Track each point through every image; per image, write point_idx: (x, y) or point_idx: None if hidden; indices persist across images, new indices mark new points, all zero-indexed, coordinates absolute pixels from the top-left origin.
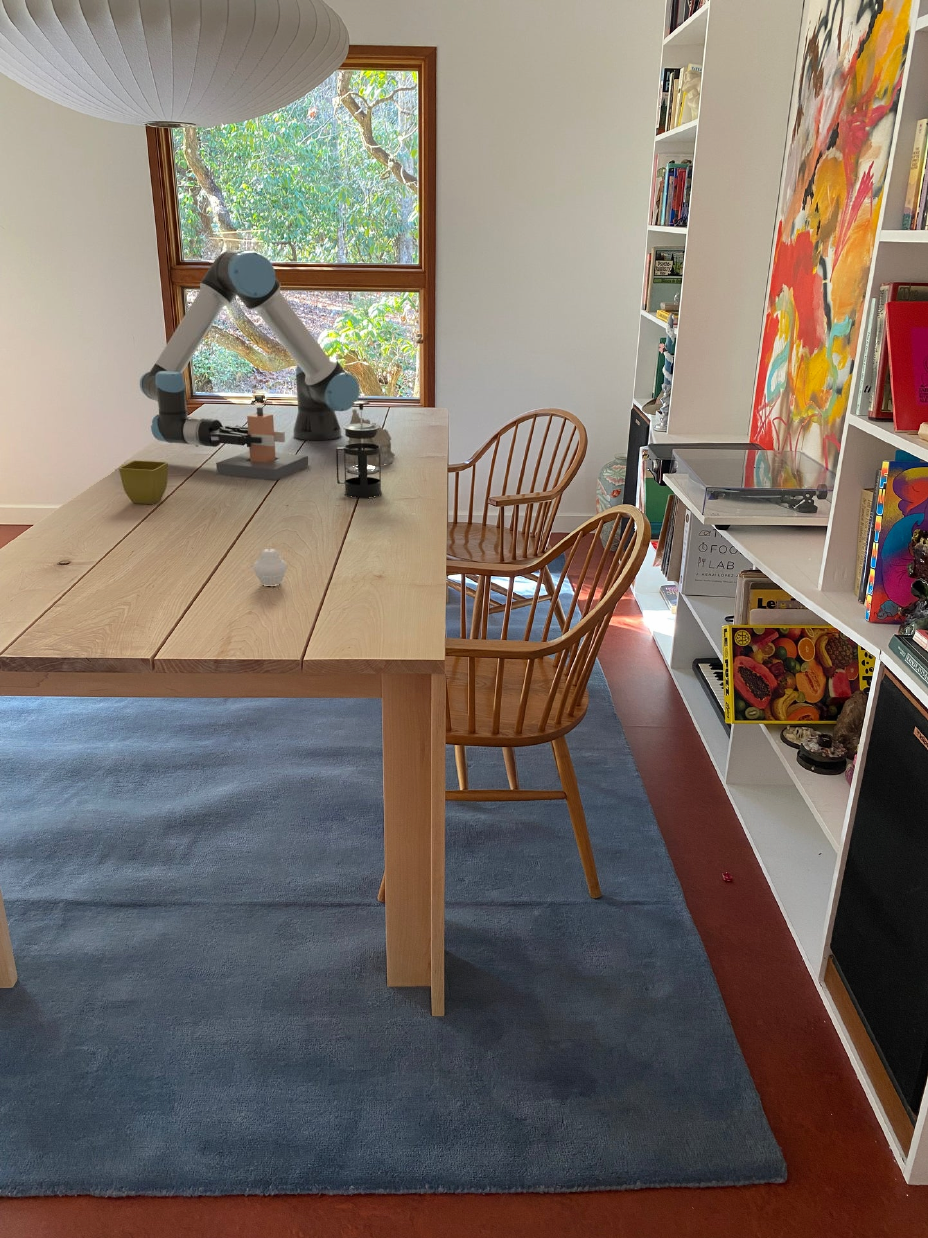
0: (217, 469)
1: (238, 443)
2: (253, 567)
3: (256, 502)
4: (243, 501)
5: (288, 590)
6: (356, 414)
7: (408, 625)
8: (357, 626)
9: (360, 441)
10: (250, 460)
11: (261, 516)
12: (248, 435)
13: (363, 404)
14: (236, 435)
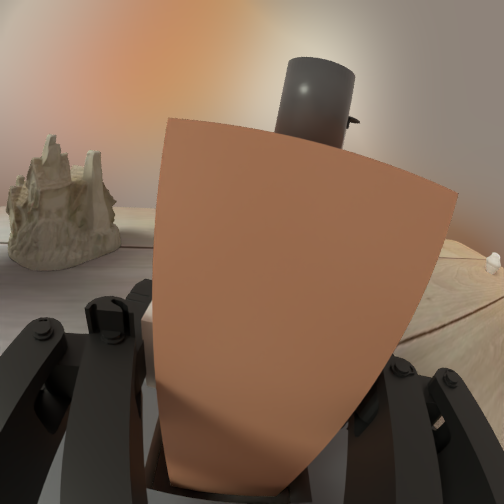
0: None
1: (437, 437)
2: (500, 266)
3: (457, 328)
4: (471, 342)
5: (484, 267)
6: (59, 146)
7: (454, 243)
8: (469, 251)
9: (74, 208)
10: (287, 483)
11: (468, 305)
12: (404, 361)
13: (353, 122)
14: (476, 416)
